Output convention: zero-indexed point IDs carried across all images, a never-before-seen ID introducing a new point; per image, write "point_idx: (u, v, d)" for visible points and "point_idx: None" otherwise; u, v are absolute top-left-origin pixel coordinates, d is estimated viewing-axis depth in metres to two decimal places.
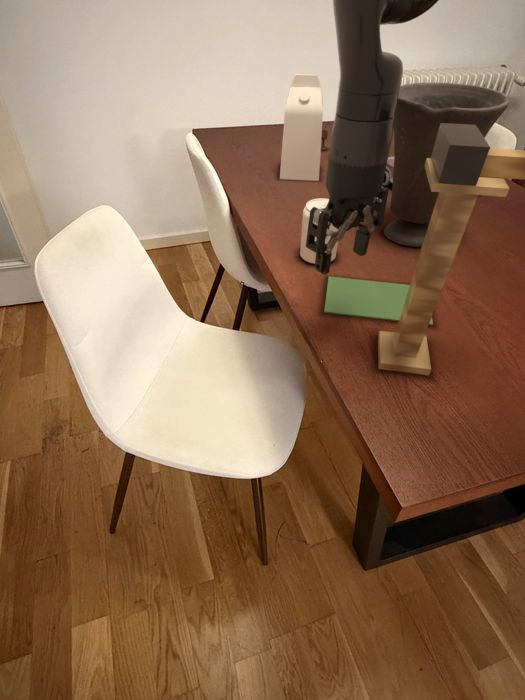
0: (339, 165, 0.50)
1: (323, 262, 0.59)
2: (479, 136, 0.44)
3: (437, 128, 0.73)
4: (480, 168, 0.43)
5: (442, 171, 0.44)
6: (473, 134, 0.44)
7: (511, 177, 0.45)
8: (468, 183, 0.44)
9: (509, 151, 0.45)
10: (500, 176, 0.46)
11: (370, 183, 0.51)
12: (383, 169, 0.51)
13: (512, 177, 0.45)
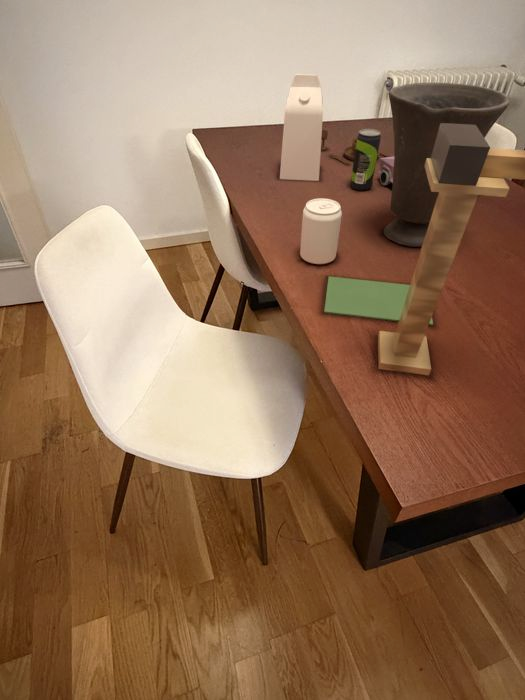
0: None
1: None
2: (479, 136, 0.44)
3: (437, 128, 0.73)
4: (480, 168, 0.43)
5: (442, 171, 0.44)
6: (473, 134, 0.44)
7: (511, 177, 0.45)
8: (468, 183, 0.44)
9: (509, 151, 0.45)
10: (500, 176, 0.46)
11: None
12: None
13: (512, 177, 0.45)
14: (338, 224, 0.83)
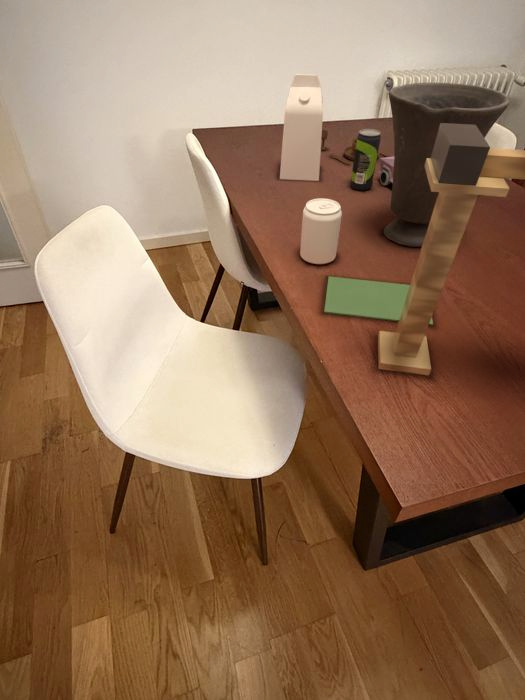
0: None
1: None
2: (479, 136, 0.44)
3: (437, 128, 0.73)
4: (480, 168, 0.43)
5: (442, 171, 0.44)
6: (473, 134, 0.44)
7: (511, 177, 0.45)
8: (468, 183, 0.44)
9: (509, 151, 0.45)
10: (500, 176, 0.46)
11: None
12: None
13: (512, 177, 0.45)
14: (338, 224, 0.83)
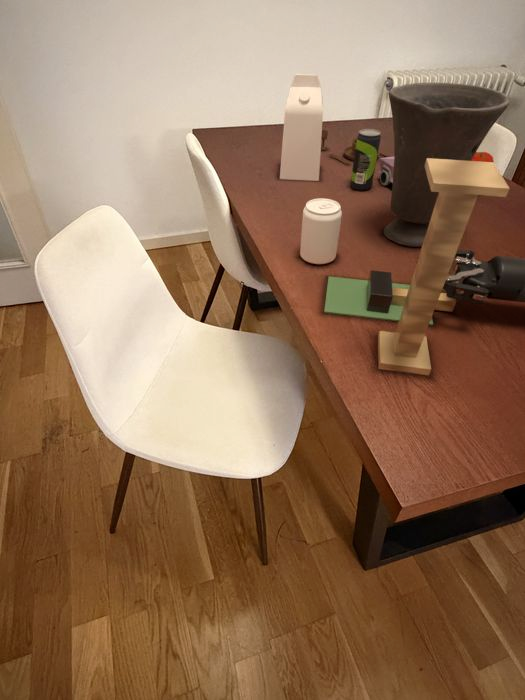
0: None
1: None
2: (389, 285, 0.75)
3: (437, 128, 0.73)
4: (389, 305, 0.74)
5: (368, 305, 0.75)
6: (386, 283, 0.76)
7: None
8: (383, 312, 0.76)
9: None
10: None
11: (510, 257, 0.69)
12: (521, 264, 0.67)
13: None
14: (338, 224, 0.83)
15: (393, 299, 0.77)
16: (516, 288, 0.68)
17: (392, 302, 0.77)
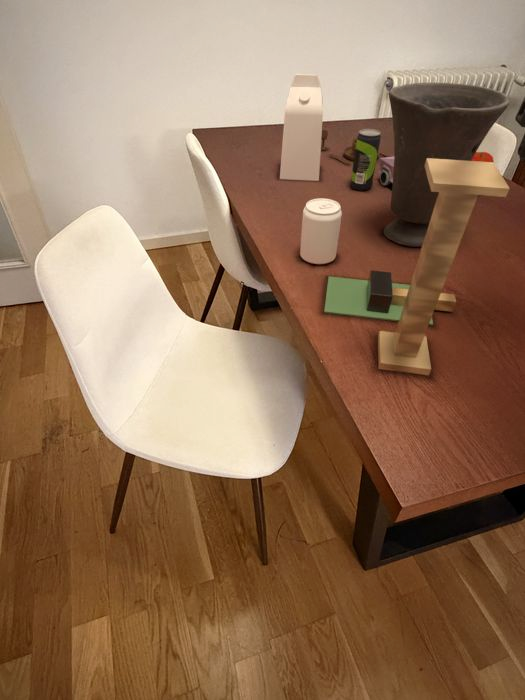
0: None
1: None
2: (389, 285, 0.75)
3: (437, 128, 0.73)
4: (389, 305, 0.74)
5: (368, 305, 0.75)
6: (386, 283, 0.76)
7: None
8: (383, 312, 0.76)
9: None
10: None
11: None
12: None
13: None
14: (338, 224, 0.83)
15: (393, 299, 0.77)
16: None
17: (392, 302, 0.77)
